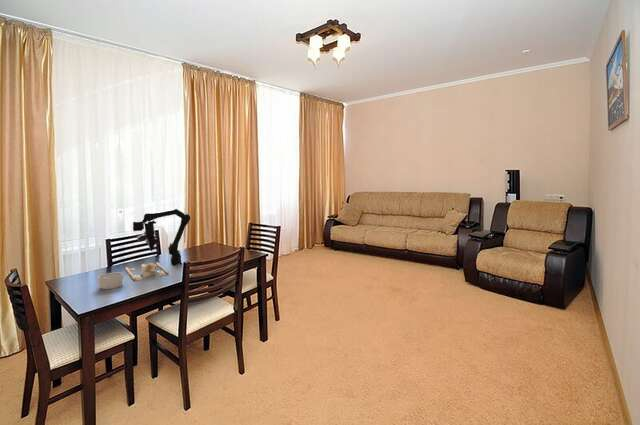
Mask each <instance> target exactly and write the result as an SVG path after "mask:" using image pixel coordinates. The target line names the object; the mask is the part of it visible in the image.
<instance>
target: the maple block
mask: <svg viewBox="0 0 640 425" xmlns="http://www.w3.org/2000/svg"><path fill="white" fill-rule="evenodd" d="M140 266H141V275H142V276H143V277H144V278H146V277H151V276H156V273H157V272H156V266H155V264H154V263H153V262H150V263H142V264H141V265H140Z"/></svg>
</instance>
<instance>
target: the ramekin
mask: <svg viewBox="0 0 640 425" xmlns="http://www.w3.org/2000/svg"><path fill="white" fill-rule="evenodd" d="M123 279H124V273H123V272H120V271H119V272H116V271H115V272H114V271H113V272H108V273H104V274H100V275H98V276H97V281H98V286H99V287H100V289H102V290H110V289H111V290H112V289H116V288H119V287H121V286H122V285H123V283H124V282H123Z"/></svg>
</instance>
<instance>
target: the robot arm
mask: <svg viewBox="0 0 640 425" xmlns="http://www.w3.org/2000/svg"><path fill="white" fill-rule="evenodd" d="M173 215H176V216H177V217H179V218H180V225H179V227H178V228H177V232H176V234H175V237H174V239H173V241H172V243H171V242H169V246H168V247H167V250H168V254H169V255H170V264H171V265H172V266H177V265H182V264H183V262H182V255H181V252H180V251H179V249H178V248H179V243H180V241H181V239H182V235H183V234H184V231H185V228H186V226H187V225H188V224H189V223H190V220H191V216H190V214H188V213H184V212H183V211H181V210H179V209H178V208H173V209H169V210H164V211H163V210H162V211H158V212H156V211H155V212H153V211H152V212H150V211H149V212H146V213H145V214H144V215H143V218H142V220H141V221H133V222H132V231H133V232H141V231H143V230H145V231H144V232H143V233H142V234H140V235H138V236H136V239H137V241H138V242H140V243H141V242H143V241H144V242H145V243H146V244H147V246H148V247H149V251H150V252H153V250H154V248H155V245H156V244H158V243H159V239H158V238H156V236H155V233H156V231H155V228H154V224H157V222H156V221H155V220H156V219H158V218H165V217H168V216H169V217H170V216H173Z"/></svg>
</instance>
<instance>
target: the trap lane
mask: <svg viewBox="0 0 640 425" xmlns="http://www.w3.org/2000/svg"><path fill="white" fill-rule="evenodd" d="M154 265H155V267H158V268H159V269H160V270H155V272H156V273H158V275H159V276H160V277H163V275H164V276H167V275H168V274H169V275H170V273H169V271H168V270H167V269H166V268H164V267H163V266H162V264H160V263H159V262H157V261H156V262H155V264H154ZM135 270H136V269H135V268H134V267H132V268H129V267H125V271H126V272H127V274H128V275H129V276H130V278H131V280H132V281H133V282H136V281H141V280H143V277H142V276H140V274H139V273H138V274H133V273H132V272H131V271H135ZM162 270H163V271H162Z"/></svg>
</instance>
